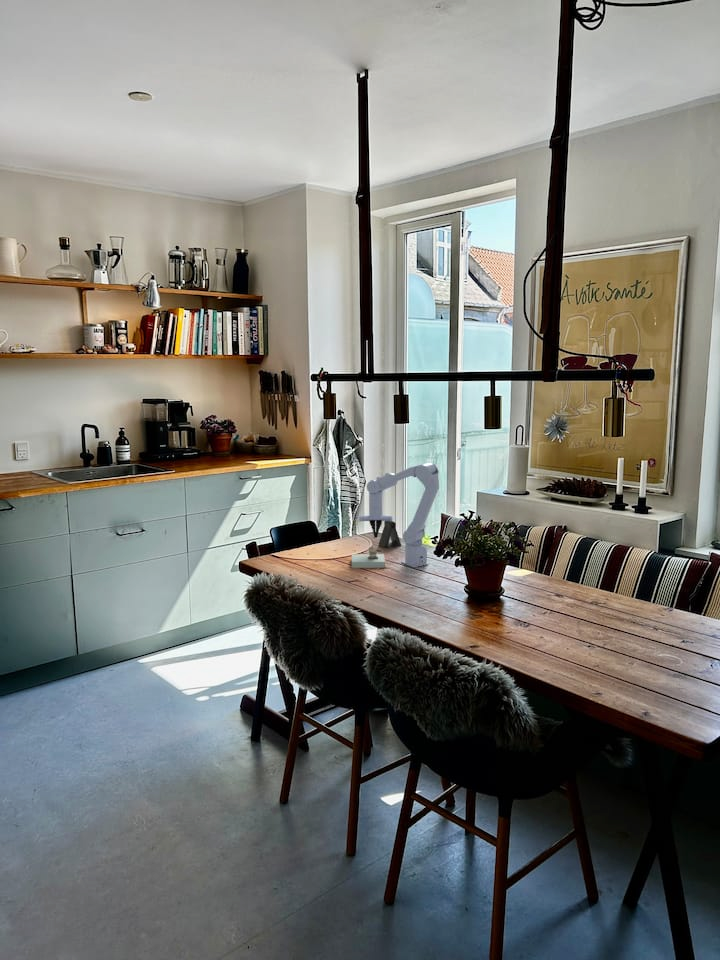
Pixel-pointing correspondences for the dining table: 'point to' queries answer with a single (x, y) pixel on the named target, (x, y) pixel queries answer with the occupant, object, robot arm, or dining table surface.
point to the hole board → (368, 561)
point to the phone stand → (389, 535)
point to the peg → (372, 552)
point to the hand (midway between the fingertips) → (375, 537)
